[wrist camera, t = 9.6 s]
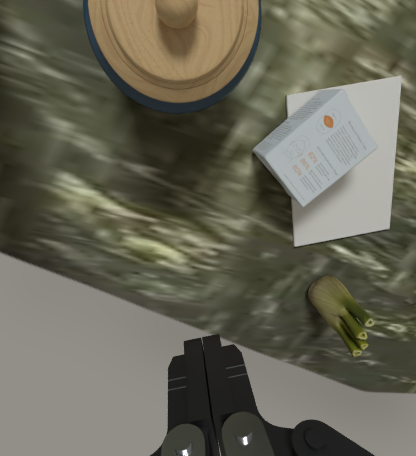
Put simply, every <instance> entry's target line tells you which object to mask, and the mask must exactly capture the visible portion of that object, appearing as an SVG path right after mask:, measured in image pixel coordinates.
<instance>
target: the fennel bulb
mask: <svg viewBox="0 0 416 456" xmlns="http://www.w3.org/2000/svg"><path fill="white" fill-rule="evenodd" d="M308 298H309V300H310V301H311V303H312V304H313V305H314V306H315V308H316V309H317V311H318V312H319V313H320V315H321V316H322V317H323V318H324V320H325V321H326V322H327V323H328V324H329V325H330V326H331V327H332V328H333V329H334V330H335V331H336V332H337V333H338V334H339V335H340V337H341V338H342V340H343V341H344V343H345V344H346V346H347V348H348V349H349V351H350V353H351V354H352V356H353V357H357V356H360V355H361V353H362V349H363V350H364V349H366V348H367V347H368V343H367V342H366V341H365V340H366V339H367V334H366V332H365V330H364V329H363V327H362V326H361V324H360V323H359V322H358V320H360V322H362V324H363V325H365V326H369V327H370V326H373V325H374V324H375V322H374V320H373V318H372V317H371V316H370V315H369V314H368V313H367V312H366V311H365V310H363V309H362V307H361V306H360V305H359V304H358V303H357V302H356V301H355V300H354V299H353V297H352V296H351V295H350V293H349V292H348V290H347V289H346V288H345V286H344V285H343V284H342V283H341V282H340V281H339V280H338V279H336V278H335V277H333V276H331V275H325V276H323V277H321V278H320V279H317V280H316V281H314V282H313V283H312V284H311V285H310V287H309V289H308ZM356 318H357V319H358V320H357V319H356Z"/></svg>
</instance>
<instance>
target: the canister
mask: <svg viewBox="0 0 416 456" xmlns="http://www.w3.org/2000/svg"><path fill="white" fill-rule="evenodd" d="M83 9H84V19H85V25H86V30H87V34H88V38H89V41H90V44H91V47H92V49H93V52H94V54H95V56H96V58H97V60H98V62H99V63H100V65H101V67H102V68H103V70H104V71H105V73H106V74H107V76H108V77H109V78H110V79H111V81H112V82H113V83H114V84H115V85H116V86H117V87H118V88H119V89H120V90H121V91H122V92H123V93H125V94H126V95H127V96H128V97H130V98H131V99H133V100H134V101H136V102H138V103H139V104H141V105H143V106H145V107H148V108H150V109H153V110H156V111H160V112H165V113H174V114H182V113H191V112H196V111H199V110H202V109H205V108H208V107H210V106H212V105H214V104H216V103H217V102H219V101H220V100H222V99H223V98H225V97H226V96H227V95H228V94H229V93H230V92H231V91H233V89H234V88H235V87H236V86H237V85H238V84H239V83H240V81H241V80H242V79H243V77H244V76H245V74H246V72H247V71H248V69H249V67H250V65H251V63H252V61H253V58H254V56H255V53H256V50H257V46H258V42H259V37H260V31H261V18H262V16H261V0H83Z"/></svg>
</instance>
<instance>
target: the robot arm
mask: <svg viewBox="0 0 416 456" xmlns="http://www.w3.org/2000/svg"><path fill="white" fill-rule="evenodd" d="M202 340H203V345H202ZM202 340H201V338H197V339H192V340H187V341H184V355H180V356H175V357H173V358H172V361H171V363H170V365H169V367H168V431H167V435H166V437H165V439H164V441H163V443H162V445H161V447H160V448H159V449H158V450H157V451H156V452H154V453H153V454H152V455H150V456H220V452H219V447H220V451H221V456H374V455H373V454H371V453H370V452H368V451H367V450H365V449H364V448H362V447H360V446H359V445H358V444H356V443H355V442H353V441H351V440H350V439H348V438H347V437H345V436H344V435H342V434H341V433H339V432H338V431H336V430H335V429H333V428H331V427H330V426H328V425H327V424H325V423H323V422H321V421H318V420H305V421H302V422H300V423H299V424H298V425H297V426H296V427H295V428H294V429H291V428H283V427H277V426H274V425H272V424H270V423H268V422H267V421H265V420H264V419H263V418H262V416H261V415H260V414H259V412H258V410H257V406H256V403H255V399H254V396H253V392H252V388H251V385H250V381H249V378H248V375H247V371H246V367H245V364H244V360H243V357H242V353H241V352H240V350H239V349H237V347H236V346H235V345H234V344H233V345H228V346H223V347H221V341H220V336H219V334H216V335H211V336H206V337H202ZM203 347H204V349H203ZM218 442H219V445H218Z"/></svg>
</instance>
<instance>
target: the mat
mask: <svg viewBox="0 0 416 456" xmlns="http://www.w3.org/2000/svg"><path fill="white" fill-rule="evenodd" d="M401 78H402V76H396V77H391V78H385V79H379V80H373V81H367V82H361V83H356V84H350V85H344V86H338V87H332V88H326V89H321V90H330V89H344V90H345V91H346V93H347V95H348V98H349V100H350V102H351V103H352V105H353V107H354V108H355V110H356V112H357V113H358V115H359V117H360V118H361V120H362V122H363V124H364V125H365V127H366V128H367V130H368V132H369V133H370V135H371V137H372V138H373V140H374V141H375V142H376V144H377V145H378V148H377V149H376V150H375V151H373V152H372V153H371V154H370V155H368V156H367V157H366V158H365V159H363V160H362V161H361V162H360V163H358V164H357V165H356V166H355V167H353V168H352V169H351V170H349V171H348V172H347V173H346V174H345V175H343V176H342V177H341V178H339V179H338V180H337V181H336V182H334V183H333V184H332V185H331V186H330V187H328V188H327V189H326V190H325V191H323V192H322V193H321V194H320V195H318V196H317V197H316V198H315V199H313V200H312V201H311V202H310V203H308V204H307V205H306V206H305V207H302V206H301V205H300V204H298V203H297V202H296V201H295V200H294V199H293V198H292V197H291V205H292V224H293V243H294V247H296V246H302V245H307V244H312V243H317V242H322V241H328V240H333V239H338V238H343V237H348V236H354V235H359V234H364V233H369V232H374V231H380V230H385V229H389V228H390V215H391V203H392V190H393V178H394V165H395V153H396V140H397V128H398V116H399V103H400V91H401ZM319 91H320V90H315V91H309V92H303V93H297V94H291V95H286V110H287V119H288V118H289V117H290V116H291V115H292V114H293V113H295V112H296V111H297V110H298V109H299V108H300V107H302V106H303V105H304V104H305V103H306V102H307V101H308V100H310V99H311V98H312V97H313V96H314V95H315V94H316V93H318V92H319Z"/></svg>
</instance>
